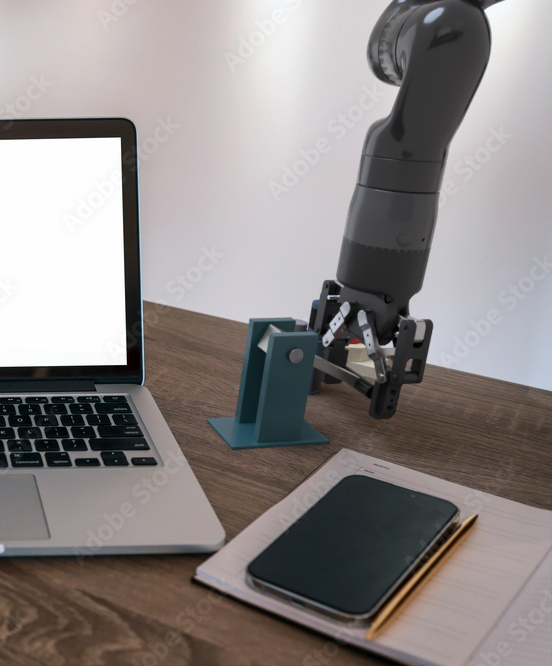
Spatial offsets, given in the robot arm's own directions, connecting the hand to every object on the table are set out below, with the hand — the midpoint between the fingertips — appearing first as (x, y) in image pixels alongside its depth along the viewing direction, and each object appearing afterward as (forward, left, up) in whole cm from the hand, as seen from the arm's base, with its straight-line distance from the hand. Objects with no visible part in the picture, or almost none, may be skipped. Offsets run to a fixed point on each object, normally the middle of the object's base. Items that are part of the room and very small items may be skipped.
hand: (354, 399), depth 76 cm
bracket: (+9, 0, -4) cm, 10 cm away
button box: (-10, -17, -4) cm, 19 cm away
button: (-10, -17, 0) cm, 19 cm away
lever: (+5, 0, +3) cm, 6 cm away
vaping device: (0, -10, -4) cm, 11 cm away
